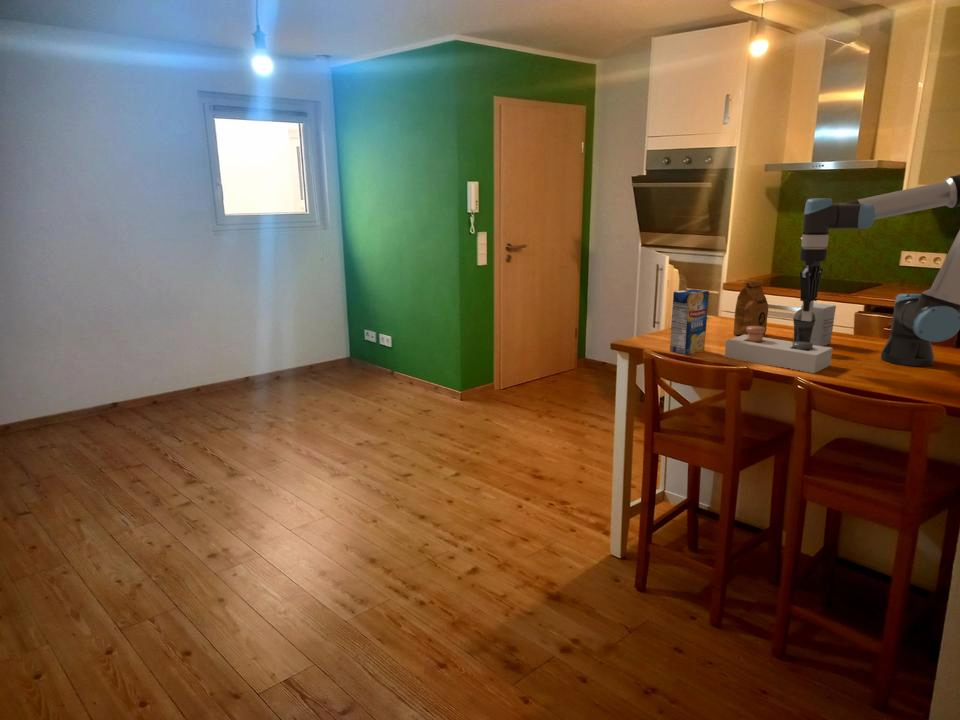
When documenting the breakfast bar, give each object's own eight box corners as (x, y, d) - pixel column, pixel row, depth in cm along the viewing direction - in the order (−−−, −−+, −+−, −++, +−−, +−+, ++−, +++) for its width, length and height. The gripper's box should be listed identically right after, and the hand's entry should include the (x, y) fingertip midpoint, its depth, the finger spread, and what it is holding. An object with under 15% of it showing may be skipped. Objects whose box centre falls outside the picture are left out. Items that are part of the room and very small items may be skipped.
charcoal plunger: (813, 359, 216) (815, 343, 214) (806, 363, 212) (808, 346, 210) (795, 356, 220) (797, 340, 218) (787, 359, 216) (789, 343, 215)
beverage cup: (814, 353, 232) (821, 298, 227) (792, 352, 233) (798, 297, 228) (808, 348, 239) (815, 295, 234) (787, 348, 240) (793, 294, 235)
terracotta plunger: (766, 343, 226) (768, 327, 225) (759, 346, 222) (760, 330, 221) (749, 340, 230) (751, 325, 229) (742, 343, 226) (743, 327, 225)
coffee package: (770, 335, 261) (775, 281, 256) (750, 339, 255) (755, 283, 249) (748, 331, 269) (753, 278, 264) (729, 334, 263) (733, 280, 258)
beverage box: (669, 351, 237) (673, 291, 231) (689, 347, 243) (693, 288, 237) (684, 355, 231) (689, 294, 226) (704, 350, 237) (709, 291, 232)
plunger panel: (830, 365, 216) (832, 347, 214) (814, 373, 207) (816, 355, 205) (742, 350, 237) (744, 334, 236) (724, 357, 228) (726, 340, 226)
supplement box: (796, 343, 247) (800, 304, 244) (807, 340, 253) (812, 302, 249) (820, 347, 240) (825, 307, 237) (831, 344, 246) (836, 305, 242)
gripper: (809, 246, 214) (802, 316, 219) (793, 249, 205) (786, 322, 211) (834, 247, 208) (826, 319, 214) (818, 250, 200) (810, 325, 205)
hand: (806, 320), depth 212 cm, fingers closed
